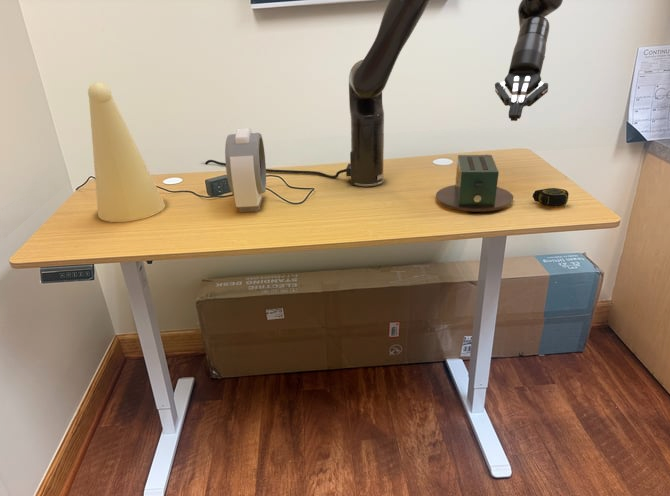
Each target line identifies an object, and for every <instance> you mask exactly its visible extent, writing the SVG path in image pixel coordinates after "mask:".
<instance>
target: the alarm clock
mask: <svg viewBox="0 0 670 496" xmlns="http://www.w3.org/2000/svg"><path fill="white" fill-rule="evenodd" d="M224 147H225V148H224V156H225V158H224V159H225V163H226V166H225V170H226V171H225V172H226V179H227V183H228V187H229V190H230V193H231V194H232V195H233V196H234V202H235V207H236V208H238V210H239V211H238V212H239V213H249V212H260V209H261V206H262V202H263V198H264V197H263V195H264V193H266V188H267V172H266V169H267V167H266V164H267V163H266V155H265V154H266V153H265V146H264V140H263V135H262V134H261V133H260V132H253V131H252V129H251V128H250V127H245V128H238V129H236V131H235V133H233V134H232V133H231V134H228V135H227V136H226V140H225V146H224Z"/></svg>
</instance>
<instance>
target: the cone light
mask: <svg viewBox="0 0 670 496" xmlns="http://www.w3.org/2000/svg"><path fill="white" fill-rule="evenodd" d="M87 95H88V103H89V114H90V115H89V116H90V128H91V129H90V130H91V141H92V142H91V144H92V152H93V153H92V156H93V167H94V180H95V191H96V192H95V193H96V194H95V195H96V205H97V217H98V218H99V219H100V220H102V221H104V222H111V223H126V222H133V221H138V220H139V221H140V220H143V219H147V218H149V217H152V216H155V215H157V214H159V213H160V212H162V211H163V210H164V209H165V207H166V203H165V201H164V200H163V199H164V198H163V197H162V195H161V193H160V191H159V190H158V189H159V188H158V187H157V185H156V183H155V181H154V179H153V177H152V175H151V173H150V170H149V169H148V167H147V164H146V163H145V161H144V159H143V156H142V155H141V152H140V150H139V148H138V146H137V144H136V142H135V140H134V138H133V136H132V134H131V132H130V130H129V128H128V126H127V124H126V122H125V120H124V118H123V115H122V114H121V112H120V110H119V107H118V105H117V103H116V101H115V99H114V97H113V95H112V91H111V89H110V88H109V86H108V85H107V84H105V83H104V82H101V81H100V82H97V81H96V82H93V83H92V84H91V85H89V87H88V90H87Z"/></svg>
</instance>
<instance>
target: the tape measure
mask: <svg viewBox="0 0 670 496" xmlns="http://www.w3.org/2000/svg"><path fill="white" fill-rule="evenodd" d="M532 198H533V201H534V202H536V203H539V204H540V205H541V206H543V207H549V208H558V207H563V206H566V205H567V203H568V200H569V191H568V190H566V189H563V188H557V187H549V188H548V187H547V188H542V189H536V190H534V192H533V193H532Z"/></svg>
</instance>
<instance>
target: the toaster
mask: <svg viewBox="0 0 670 496" xmlns="http://www.w3.org/2000/svg"><path fill="white" fill-rule="evenodd" d="M456 160H457V162H456V176H455V184H454V185H448V186H446V187H442V188H441V189H439V190H437V191H436V193H435V200H436V202H437V203H438V204H440V205H442V206H443V207H446V208H448V209H452V210H457V211H462V212H463V211H464V212H479V213H480V212H481V213H482V212H492V211H493V212H494V211H498V210H503V209H505V208H508V207H510V206H511V205H512V204H513V202H514V199H515V198H514V197H515V196H514V195H513V194H512V192H510V191H509V190H507V189H505V188H502V187H499V186H498V183H499V170H498V167H497V165H496V163H495V160H494V157H493V155H492V154H457V159H456Z"/></svg>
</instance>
